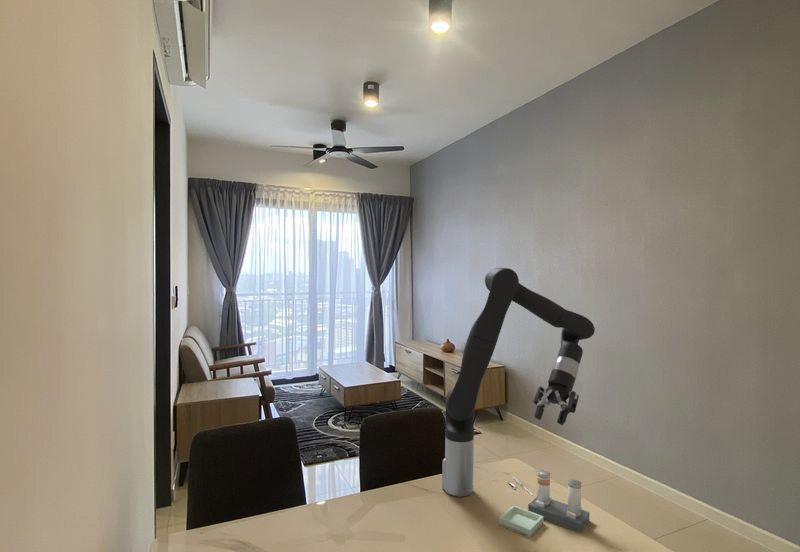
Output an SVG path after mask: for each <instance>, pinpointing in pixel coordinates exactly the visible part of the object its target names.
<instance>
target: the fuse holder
mask: <svg viewBox="0 0 800 552" xmlns="http://www.w3.org/2000/svg"><path fill="white" fill-rule="evenodd" d="M528 503H529V504H528V506H527V510H528V511H530V512H533V513H536V514H538V515H541V516H544V520H545V521H548V522H550V523H554V524H556V525H558V526H559V525H560V526H561V527H565V528H566V529H569V530H573V532H574V531H575V532H577V533H580V534H581V533H582V531H583V530H584V529H585V527H586V526H587V525H588V523H589V522H590V511H587V510H584V509H583V507H582V506H581V516H580V517H576V514H575V513H572V512H569V511H567V509H568V503H564V502H561V501H558V500H555V499H554V498H553V499H552V496H551V495H550V505H549V506H545V503H544V502H541V501H538V500H537V496H535V498H534V499H533V500H532V501H530V502H528Z"/></svg>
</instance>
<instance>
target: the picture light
mask: <svg viewBox="0 0 800 552" xmlns="http://www.w3.org/2000/svg"><path fill="white" fill-rule="evenodd" d="M511 478H512V479H513V480H514V481H515V482H514V483H512V481H511V482H508V485H511V487H513V490H517V483H518V485H520V486H521V487H522V488H523V489H524V490H525V491H526V492H527V493H528V494H529V495H531V496H532V497H533V496H534V495H533V493H532V492H531V491H530V490H529V489H527V488H526V487H525V486H524V484H523V483H522V481H520V480H518V479H517V478H516V477H515V476H512V477H511Z"/></svg>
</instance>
